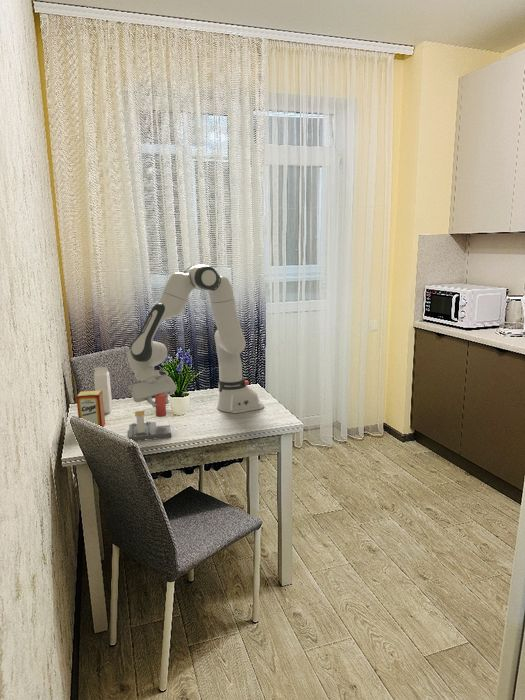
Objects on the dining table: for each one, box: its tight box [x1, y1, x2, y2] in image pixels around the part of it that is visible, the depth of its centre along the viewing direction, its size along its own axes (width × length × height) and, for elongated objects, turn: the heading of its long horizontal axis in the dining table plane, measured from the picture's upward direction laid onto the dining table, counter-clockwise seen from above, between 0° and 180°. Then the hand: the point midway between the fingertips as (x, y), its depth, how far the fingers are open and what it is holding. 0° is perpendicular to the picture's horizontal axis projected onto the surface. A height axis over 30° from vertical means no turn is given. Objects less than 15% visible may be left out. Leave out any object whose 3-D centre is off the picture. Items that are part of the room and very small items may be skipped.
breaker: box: [134, 410, 147, 436], centre depth 204 cm, size 4×5×9 cm
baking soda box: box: [75, 390, 106, 428], centre depth 217 cm, size 10×6×16 cm
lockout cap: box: [154, 394, 167, 418], centre depth 213 cm, size 4×4×9 cm
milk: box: [93, 366, 113, 414], centre depth 237 cm, size 6×6×22 cm
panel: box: [128, 420, 172, 442], centre depth 211 cm, size 17×15×3 cm
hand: (161, 405), depth 213 cm, fingers closed on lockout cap, 4 cm apart
